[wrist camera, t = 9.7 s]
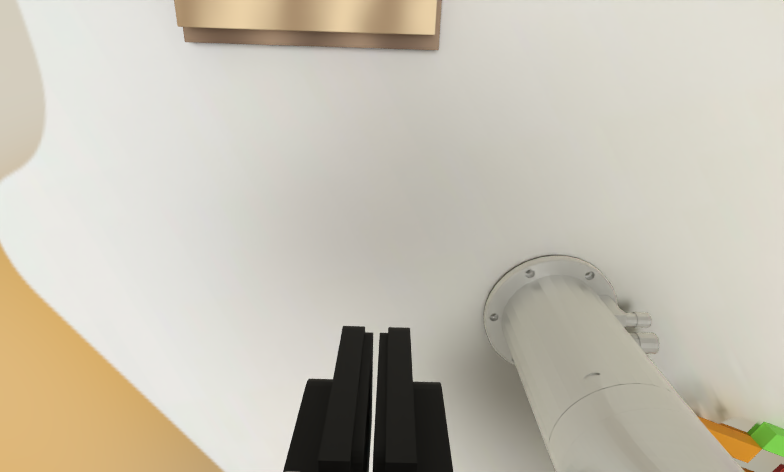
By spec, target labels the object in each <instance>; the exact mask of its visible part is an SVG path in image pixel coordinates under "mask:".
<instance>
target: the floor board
mask: <svg viewBox="0 0 784 472" xmlns="http://www.w3.org/2000/svg"><path fill="white" fill-rule="evenodd" d="M174 3H175V10H176V17H177V25H178V26H179V27H183V31H184V39H185V42H201V43H232V44H263V45H294V46H325V47H357V48H388V49H419V50H438V49H439V34H440V18H441V3H442V0H174Z"/></svg>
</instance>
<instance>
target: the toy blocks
mask: <svg viewBox="0 0 784 472" xmlns="http://www.w3.org/2000/svg"><path fill="white" fill-rule="evenodd" d="M697 417H698V418H699V419H700V421H701V422H702V423H703V424H704V425H705V427H706V428H707V429H708V430H709V431H710V432H711V434H712V435H713V436H714V437H715V438H716V439H717V440H718V442H719V443H720V444H721V445H722V446H723V447H724V448H725V450H726V451H727V452H728V453H729V454H730V455H731V456H732V457H733V458H736V459H739V460H742V461H744V462H747V463H748V462H749V461H750V460H751V459H752V458H753V457H754V456H755V455H756V454H757V453H758V452H760V450H761V449H764V450H766V451H769V452H772V453H774V454H777V455H780V456H783V457H784V429H782V428H779V427H777V426H774V425H772V424H769V423H766V422H763V423H762V425H761V424H759V423H756V424H755V425H754V426H753V427H752V428H751V429H750V430H749V431H748V432H745V431H742V430H739V429H737V428H734V427H731V426H729V425H726V424H723V423H720V424H717V423H715V422H712V421H709V420H707V419H704V418H701V417H699V416H697ZM741 468H742V469H743V470H744V471H745V472H754V471H751V470H748V469H746V468H743V467H741ZM772 472H784V464H780V465H779V466H778V467H777V468H775V469H774V470H773V471H772Z"/></svg>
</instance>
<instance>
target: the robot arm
mask: <svg viewBox="0 0 784 472" xmlns="http://www.w3.org/2000/svg"><path fill="white" fill-rule="evenodd" d="M528 270H529V271H528ZM526 271H527V272H526ZM651 321H652V320H651V316H650V315H649V313H644V312H633V313H625V312H624V311H623V310H621V309H620V308H619V307H618V304H617V297H616V294H615V292H614V289H613V287H612V285H611V284H610V282H609V281H608V280H607V278H606V277H605V276H604V275H603V274H602V273H601V272H600V271H599V270H598V269H597V268H595V267H594V266H592V265H591V264H590V263H587V262H585V261H583V260H580V259H578V258H573V257H568V256H547V257H540V258H537V259H533V260H530V261H527V262H525V263H523V264H521V265H519V266H517V267H515V268H514V269H513V270H511V271H510V272H508V273H507V274H506V275H505V276H504V277H503V278H502V279H501V280H500V281H499V282H498V283H497V284H496V285H495V287H494V288H493V290H492V291H491V293H490V295H489V297H488V300H487V302H486V305H485V311H484V326H485V330H486V333H487V336H488V339H489V341H490V344H491V345H492V347H493V348H494V349H495V351H496V352H497V353H498V354H499V355H500V356H501V357H502V358H503V359H504V360H506V361H508V362H509V363H511V364H513V365H515V366H516V368H517V371H518V374H519V376H520V379H521V382H522V384H523V387H524V390H525V392H526V395H527V398H528V400H529V403H530V406H531V408H532V411H533V414H534V416H535V419H536V422H537V424H538V427H539V430H540V432H541V435H542V437H543V440H544V443H545V445H546V448H547V451H548V453H549V456H550V459H551V461H552V463H553V466H554V469H555V471H556V472H745V471H744V470H743V469H742V468H741V467H740V466H739V464H738V463H737V462H736V461H735V460H734V459H733V458H732V456H731V455H730V454H729V453H728V452H727V451H726V450H725V448H724V447H723V446H722V445H721V444H720V443H719V442H718V440H717V439H716V438H715V437H714V436H713V435H712V434H711V432H710V431H709V430H708V429H707V428H706V427H705V425H704V424H703V423H702V422H701V421H700V419H699V418H698V417H697V416H696V415H695V413H694V412H693V411H692V410H691V408H690V407H689V406H688V405H687V403H686V402H685V401H684V400H683V399H682V398H681V396H680V395H679V394H678V393H677V392H676V390H675V389H674V388H673V387H672V385H671V384H670V383H669V382H668V381H667V379H666V378H665V377H664V376H663V374H662V373H661V372H660V371H659V370H658V368H657V367H656V366H655V365H654V363H653V362H652V361H651V360H650V358H649V357H648V356H647V355H646V354H656V353H657V352H658V350H659V340H658V337H657V336H656V334H654V333H639V332H634V333H628V331H627V330H626V329H625V327H626V326H628V327H637V328H648V327H650V326H651ZM372 372H373V333H365V327H359V326H343V329H342V334H341V340H340V345H339V350H338V356H337V361H336V367H335V372H334V377H333V379H308V381H307V384H306V387H305V391H304V394H303V398H302V402H301V406H300V410H299V413H298V417H297V421H296V425H295V429H294V432H293V436H292V440H291V444H290V448H289V451H288V455H287V459H286V463H285V467H284V470H283V472H369V457H370V441H371V424H372ZM373 472H453V467H452V459H451V452H450V445H449V438H448V430H447V423H446V416H445V408H444V401H443V394H442V387H441V383H440V382H413V377H412V358H411V339H410V328H394V327H389V328H388V333H380V339H379V358H378V377H377V395H376V414H375V433H374V452H373Z"/></svg>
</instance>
